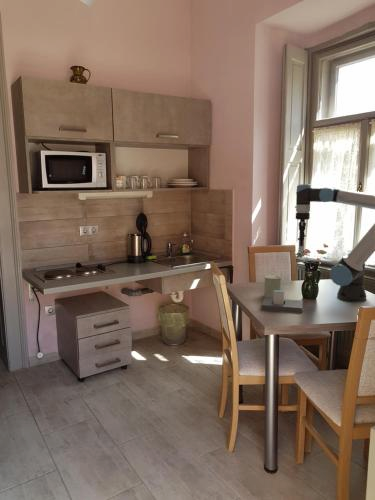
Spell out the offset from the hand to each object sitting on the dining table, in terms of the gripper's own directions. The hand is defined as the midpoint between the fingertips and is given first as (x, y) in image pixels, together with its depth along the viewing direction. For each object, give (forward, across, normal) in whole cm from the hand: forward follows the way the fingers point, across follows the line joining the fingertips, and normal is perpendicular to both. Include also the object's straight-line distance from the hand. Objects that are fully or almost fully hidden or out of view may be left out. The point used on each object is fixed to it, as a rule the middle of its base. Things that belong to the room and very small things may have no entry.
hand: (301, 249), depth 225 cm
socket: (+27, +26, -8) cm, 38 cm away
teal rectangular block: (+26, +26, -10) cm, 38 cm away
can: (+27, +6, -15) cm, 31 cm away
